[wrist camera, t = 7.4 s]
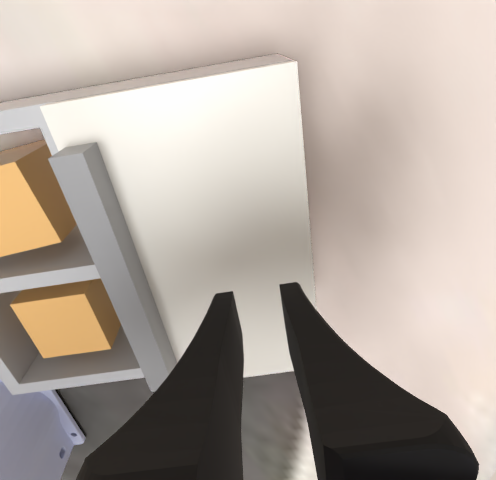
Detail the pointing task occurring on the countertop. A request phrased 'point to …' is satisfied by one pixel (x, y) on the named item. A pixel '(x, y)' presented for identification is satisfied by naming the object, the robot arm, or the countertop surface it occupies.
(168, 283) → the lid
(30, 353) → the housing
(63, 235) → the light orange rectangular block
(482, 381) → the countertop surface
